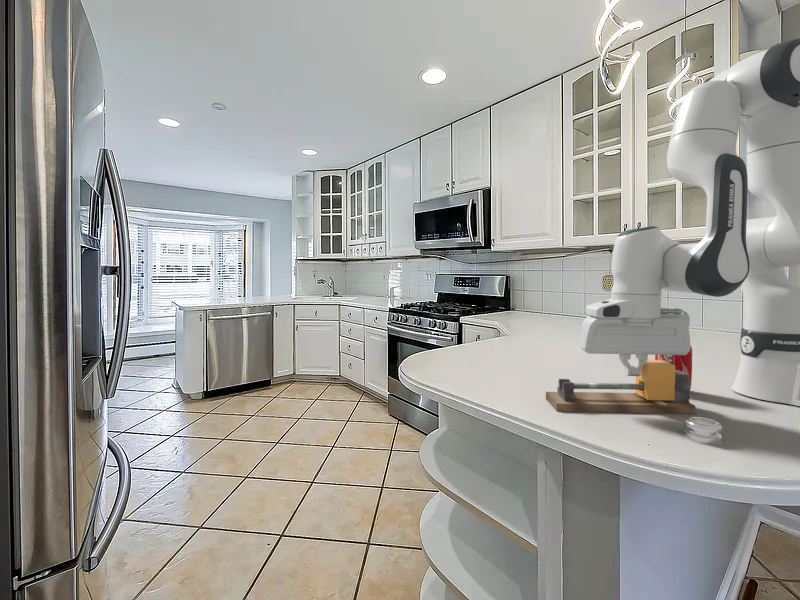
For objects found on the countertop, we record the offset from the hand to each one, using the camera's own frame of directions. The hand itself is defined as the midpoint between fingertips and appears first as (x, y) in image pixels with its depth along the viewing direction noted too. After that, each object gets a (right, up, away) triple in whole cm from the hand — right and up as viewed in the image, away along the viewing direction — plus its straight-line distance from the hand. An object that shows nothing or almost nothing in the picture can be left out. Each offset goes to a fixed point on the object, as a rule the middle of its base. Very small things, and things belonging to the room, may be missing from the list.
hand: (632, 375), depth 83 cm
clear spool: (+3, -8, -16) cm, 18 cm away
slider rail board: (-3, -6, +1) cm, 7 cm away
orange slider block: (+4, -4, 0) cm, 6 cm away
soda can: (+15, -6, +10) cm, 19 cm away
